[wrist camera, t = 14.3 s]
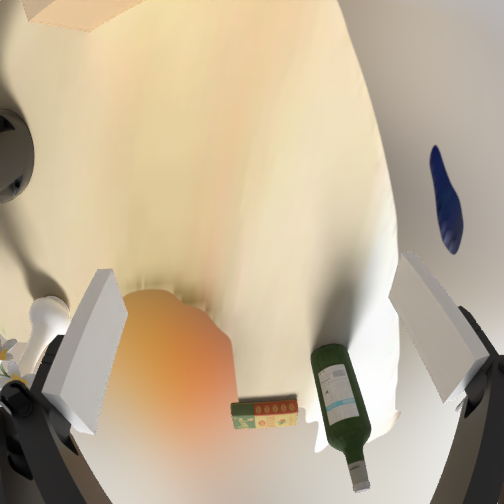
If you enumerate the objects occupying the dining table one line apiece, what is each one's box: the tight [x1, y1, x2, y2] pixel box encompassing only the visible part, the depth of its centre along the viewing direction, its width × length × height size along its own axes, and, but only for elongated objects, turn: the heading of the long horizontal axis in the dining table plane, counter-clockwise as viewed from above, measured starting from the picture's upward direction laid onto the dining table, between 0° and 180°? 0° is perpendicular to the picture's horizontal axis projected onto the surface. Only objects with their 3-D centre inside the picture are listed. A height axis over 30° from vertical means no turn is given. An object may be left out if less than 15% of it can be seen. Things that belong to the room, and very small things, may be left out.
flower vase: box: [0, 296, 71, 391], centre depth 39 cm, size 13×18×25 cm
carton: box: [231, 399, 298, 429], centre depth 69 cm, size 8×16×4 cm, turn 92°
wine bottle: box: [311, 344, 371, 493], centre depth 47 cm, size 8×8×30 cm
